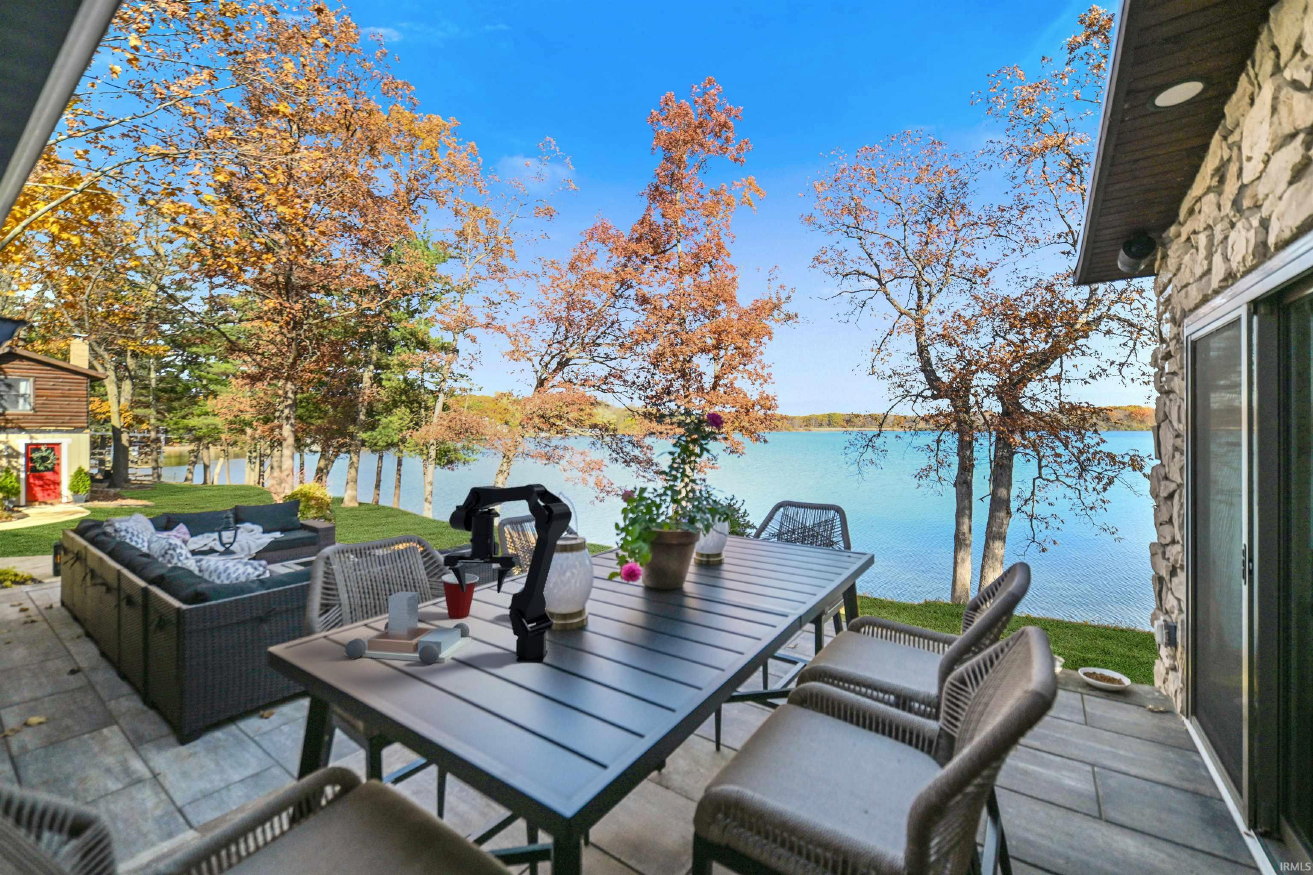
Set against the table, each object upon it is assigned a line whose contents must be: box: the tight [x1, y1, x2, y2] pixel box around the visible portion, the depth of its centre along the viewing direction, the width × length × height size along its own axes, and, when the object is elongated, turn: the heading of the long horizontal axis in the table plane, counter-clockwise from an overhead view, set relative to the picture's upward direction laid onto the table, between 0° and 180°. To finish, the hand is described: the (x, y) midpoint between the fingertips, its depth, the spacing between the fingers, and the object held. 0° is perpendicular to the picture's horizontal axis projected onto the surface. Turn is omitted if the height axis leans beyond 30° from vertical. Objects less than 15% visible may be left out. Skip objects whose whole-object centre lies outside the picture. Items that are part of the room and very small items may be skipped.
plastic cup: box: [440, 573, 480, 620], centre depth 170 cm, size 11×11×12 cm
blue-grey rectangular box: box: [387, 590, 419, 641], centre depth 143 cm, size 5×5×12 cm
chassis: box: [344, 621, 472, 665], centre depth 143 cm, size 26×17×4 cm, turn 83°
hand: (481, 592), depth 149 cm, fingers open, 9 cm apart
